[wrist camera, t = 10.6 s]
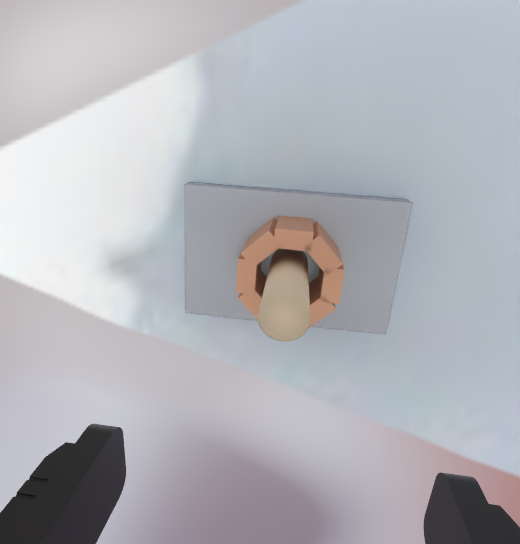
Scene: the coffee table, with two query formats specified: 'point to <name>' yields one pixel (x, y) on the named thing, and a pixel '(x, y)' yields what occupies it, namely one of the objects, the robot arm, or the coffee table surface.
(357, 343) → the coffee table surface
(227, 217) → the post block
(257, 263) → the ring
